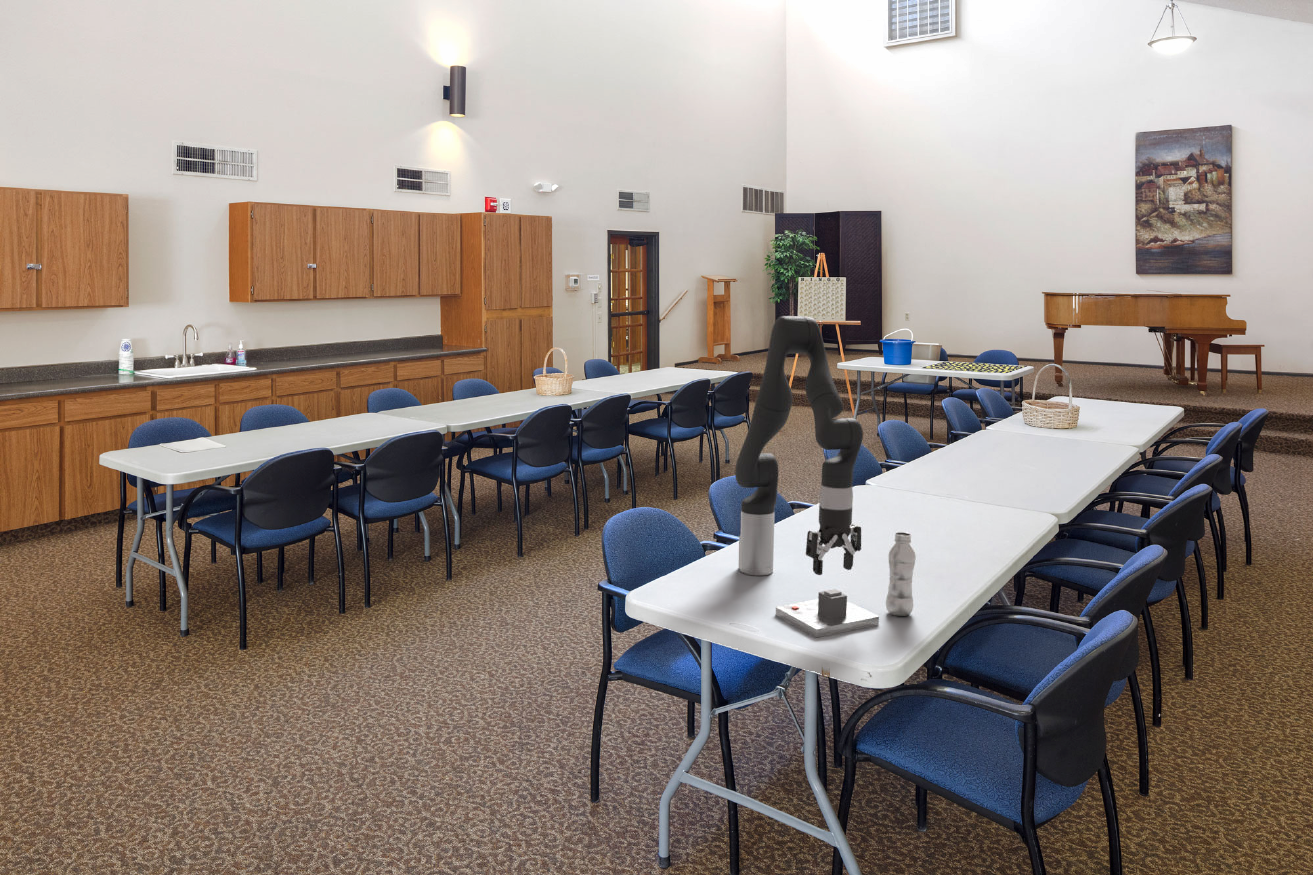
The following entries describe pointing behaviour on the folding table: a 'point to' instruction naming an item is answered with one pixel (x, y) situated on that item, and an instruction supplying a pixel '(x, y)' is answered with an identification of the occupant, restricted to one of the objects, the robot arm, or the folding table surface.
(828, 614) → the plug
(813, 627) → the socket plate
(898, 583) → the plastic bottle
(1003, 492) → the folding table surface
